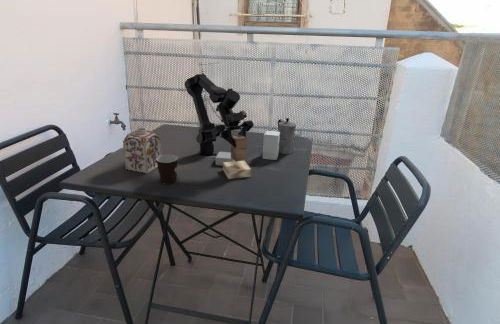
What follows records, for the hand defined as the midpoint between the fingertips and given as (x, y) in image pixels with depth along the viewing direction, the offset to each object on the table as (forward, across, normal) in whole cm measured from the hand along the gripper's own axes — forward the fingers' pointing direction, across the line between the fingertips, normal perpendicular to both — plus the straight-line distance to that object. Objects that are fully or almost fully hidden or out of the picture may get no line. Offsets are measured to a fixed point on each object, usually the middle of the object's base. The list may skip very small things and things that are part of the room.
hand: (240, 145), depth 143 cm
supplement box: (+3, +25, +16) cm, 30 cm away
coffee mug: (+2, -28, +17) cm, 32 cm away
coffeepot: (0, +37, +19) cm, 42 cm away
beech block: (+9, -1, +11) cm, 14 cm away
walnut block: (+4, 0, +6) cm, 7 cm away
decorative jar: (-10, -33, +30) cm, 46 cm away
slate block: (-1, +2, +20) cm, 20 cm away
